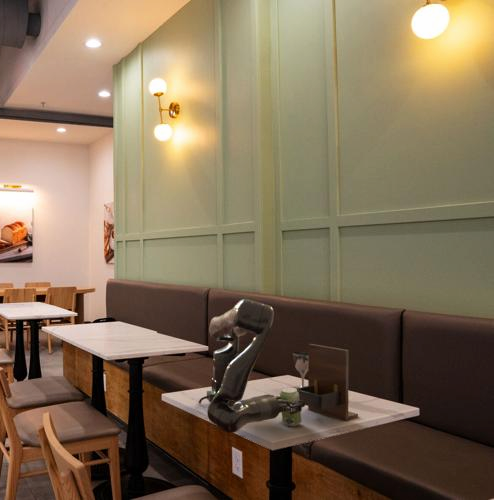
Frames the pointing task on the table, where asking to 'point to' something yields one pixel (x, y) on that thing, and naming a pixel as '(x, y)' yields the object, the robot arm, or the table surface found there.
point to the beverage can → (292, 395)
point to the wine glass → (301, 364)
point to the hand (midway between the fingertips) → (295, 400)
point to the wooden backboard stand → (327, 382)
